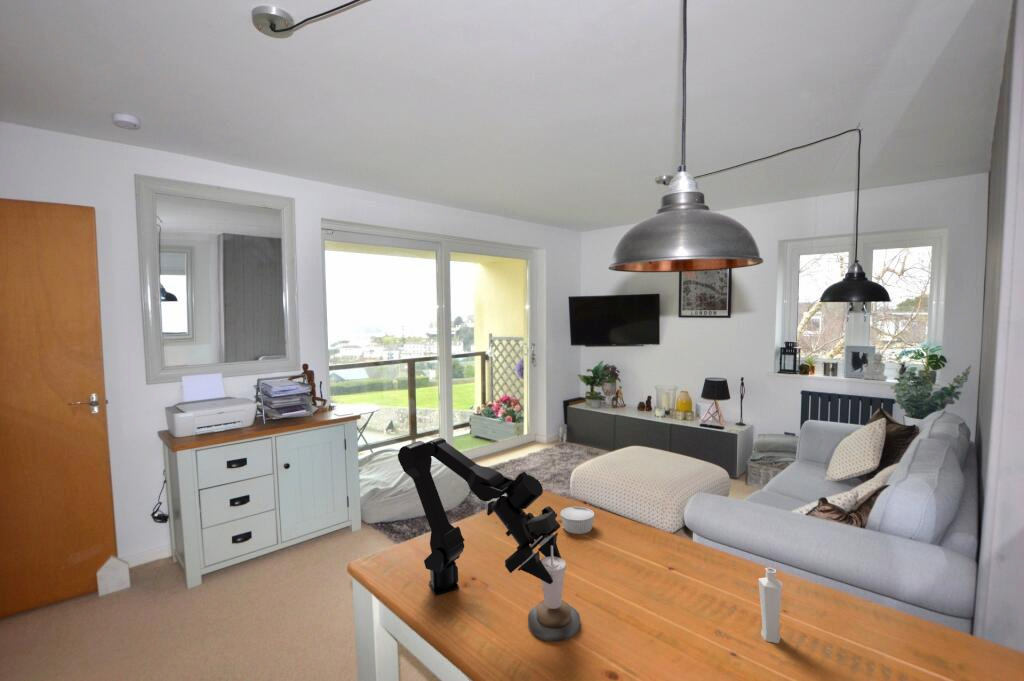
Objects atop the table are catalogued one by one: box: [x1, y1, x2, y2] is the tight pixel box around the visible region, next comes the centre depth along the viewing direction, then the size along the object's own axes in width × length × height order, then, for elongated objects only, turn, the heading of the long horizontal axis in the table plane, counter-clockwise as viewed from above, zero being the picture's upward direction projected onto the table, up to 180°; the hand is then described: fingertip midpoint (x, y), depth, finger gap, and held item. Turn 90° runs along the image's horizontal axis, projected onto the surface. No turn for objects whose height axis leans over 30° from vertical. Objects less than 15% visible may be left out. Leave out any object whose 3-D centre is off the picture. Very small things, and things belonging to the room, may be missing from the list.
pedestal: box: [527, 599, 581, 643], centre depth 108 cm, size 12×12×4 cm
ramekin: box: [560, 506, 595, 535], centre depth 156 cm, size 11×11×5 cm
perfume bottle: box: [758, 567, 783, 644], centre depth 101 cm, size 5×4×15 cm
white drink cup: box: [540, 545, 567, 609], centre depth 108 cm, size 6×6×14 cm
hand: (557, 576), depth 107 cm, fingers closed on white drink cup, 6 cm apart
